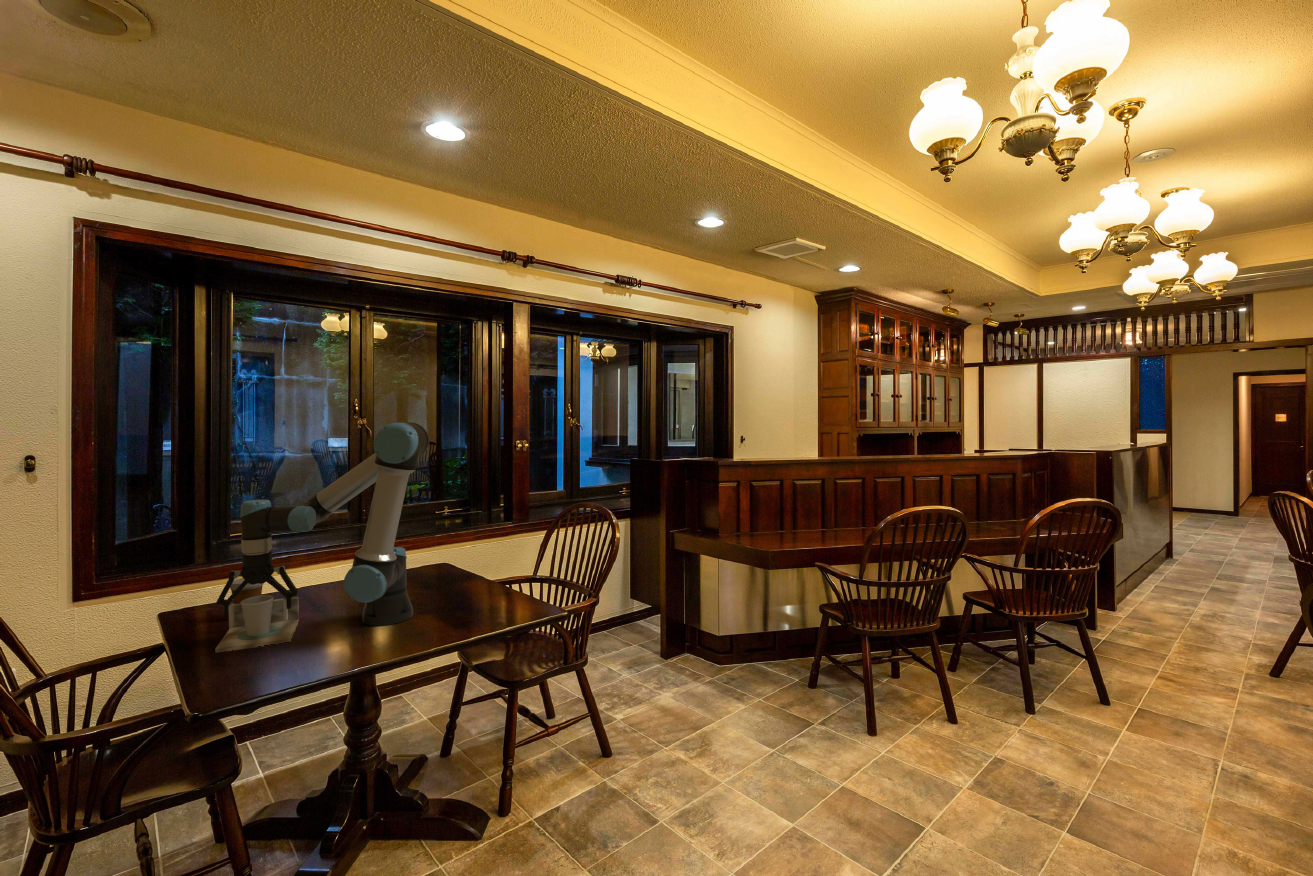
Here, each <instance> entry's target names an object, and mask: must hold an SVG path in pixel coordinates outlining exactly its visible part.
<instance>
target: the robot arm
mask: <svg viewBox="0 0 1313 876" xmlns="http://www.w3.org/2000/svg"><path fill="white" fill-rule="evenodd" d="M429 445H430V436H429V433H428V432H427V430H426V428H424V426H422V425H420V423H416V422H410V421H409V422H399V421H398V422H392V423H389V424H386V425H385V426H383V427H381V428H380V429H379V430H378V432H377V433H376V435H375V437H374V440H373V449H374V453H373V454H371V455H370V456H369V457H367V458H365V459H364V460H363V461H362V462H360V463H359V464H357V465H355V466H354V467H353V468H351V469H350V470H349V471H347V472H345V474H343V475H342V476H340V477H338V478H337V479H336V480H335V481H333V482H332V483H330V484H329V485H328V486H326V487H325V488H323V489H322V490H320V491H318V492H317V493H316V494H315V495H313V496H311V497H310V498H309V499H307V500H306V501H303V502H301V503H300V502H299V503H297V504H294V505H289V506H272V502H271V500H269V499H253V500H245V501H243V502H242V503H241V505H240V515H239V518H240V530H241V539H240V541H241V542H240V543H241V544H240V545H241V553H242V555H241V570H235V569H232V570H230V571H229V573H228V579H227V581H226V583H225V585H224V587H223V589H222V590H221V592H220V595H219V597H218V598H217V600H216V605H222V606H223V607H224V608H223V611H224V617H228V626H229V627H228V628H229V629H230V628H232V627H233V626H234V603H233V599H234V598H235V597H236V596H237V595H238V593H239V592H240V591H241V590H242V589H243V588H244V587H245V586H246V584H247V583H249V584H251V585H254V584H257V583H258V584H263V585H264V584H265V583H267V584H268V585H271V587H273V589H275V590H276V591H278V592H279V594H280V595H282V596H283V598H282V599H283V612H284V621H287V619H288V609H290V608H291V606H292V599H291V598H293V597H297V595H298V594H299V590H298V588H297V587H296V586H295V584H294V582H293V581H292V579H291V577H290V576H289V575H288V573H287V572H286V566H285V565H284V564H281V565H280V566H276V567H274V563H273V552H272V550H273V543H272V542H273V539H272V538H273V537H272V535H273V534H272V533H288V532H289V533H291V532H292V533H293V532H294V533H300V532H301V533H302V532H309V531H312V530H313V529H314V527H315V525H316V524H320V523H322V522H323V521H325V520H327V518H329V516H330V515H331V514H332V513H334V512H335V511H336V510H338V509H339V508H340V507H342V506H344V505H345V504H347V503H348V502H349V501H351V500H352V499H353V498H355V497H356V496H358V495H360V493H362V492H363V491H364V490H366V489H367V488H369V487H370V486H372V485H373V484H375V486H374V491H373V495H372V499H371V503H370V509H369V513H368V517H367V518H368V519H367V523H366V528H365V532H364V537H363V542H362V546H361V547H360V548H359V549H358V550H356V551H355V552H354V556H353V560H352V566H351V568H350V569H348V571H347V572H346V574H345V576H344V579H343V588H344V591H345V592H346V594H347V595H348V596H349V597H350V598H351V599H352V600H354V601H355V602H359V603H365V604H364V608H363V611H362V615H361V620H362V621H361V622H362V624H364V623H365V625H367V624H368V626H387V625H395V624H398V623H402V622H405V621H407V620H409V619H411V618H412V617H413V615H414V608H413V605H412V602H411V600H410V598H409V595H408V591H407V590H408V589H407V587H408V586H407V585H408V584H407V580H408V579H407V553H406V549H405V548H404V547H401V546H395V542H396V537H397V532H398V527H399V522H400V519H401V514H402V510H403V505H404V500H405V495H406V491H407V486H408V481H409V479H410V478H409V477H410V475H411V474H412V473H415V472H416V470H417V466H418V465H417V464H418V462H419V461H418V460H419V458H420V457H421V456H423V455H425V453H426V451H427V450H428V449H429ZM274 573H276V574H277V575H280V577H281V580H282V581H283V583H285V585H286V586H287V588H288V589H289V590H288V589H286V587H285V586H284V585H282V584H281V583H280V582H279V581H278V580H276V579H275V577H274V576H273V574H274ZM239 576H241V577H242V578H244V579H245V580H244V581H243V582H242V583H241V585H240V586H239V587H238V588H237V589H236V590H235V591H234V592H233V593H232V592H231V594H230V596H229V597H227V599H225V597H226V596H227V594H228V593H229V590H231V589H230V587H231V585H232V583H233V581H234V580H236V579H238V577H239Z"/></svg>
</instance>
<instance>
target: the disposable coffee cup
mask: <svg viewBox="0 0 1313 876" xmlns="http://www.w3.org/2000/svg"><path fill="white" fill-rule="evenodd" d="M244 580H245V579H244V578H243V577H242V578H236V579H234V581H233V583H232V585H231V587H230V589H229V590H230V593H231V594H232V593H233V592H234V591H235V590H236V589H237V588H238V587H239V586H240V585H241V583H242V582H243V581H244ZM263 585H264V583H263V584H258V583H257V584H254V585H251V584H249V583H247V584H246V586H245V587H244V588H243V589H242V590H241V591H240V592H239V593H238V595H237V596H236V597H235V598H234V599H233V600H232V603H234V604H240V602H241V601H242V600H244V599H247V598H250V597H255V596H262V593H263V592H262V591H263Z"/></svg>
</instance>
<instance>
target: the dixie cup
mask: <svg viewBox="0 0 1313 876" xmlns="http://www.w3.org/2000/svg"><path fill="white" fill-rule="evenodd" d="M274 598H275V597H274V596H273V595H261V596H255V597H250V598H247V599H244V600H242V601H241V602H240V604H241V605H242V610H243V616H244V621H245V627H246V632H247V635H248V636H258V635H263V634H266V633H268V632H269V631H270V623H271V614H272V604H273V600H275V599H274Z"/></svg>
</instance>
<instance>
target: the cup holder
mask: <svg viewBox="0 0 1313 876" xmlns="http://www.w3.org/2000/svg"><path fill="white" fill-rule="evenodd" d="M283 599H284V598H277V599H273V604H272V614H271V623H270V631H269V632H268V633H266V634H263V635H258V636H248V635H247V632H246V627H245V621H244V616H243V610H242V605H241V604H234V626H233V627H232V628H229V629H228V630H227V631H226V633H225V634H224V636H223V638H222V639H221V640H220V642H219V643H218V644H217V646H216V647H215V651H214V652H215V654H218V653H225V651H226V652H232V650H233V651H239V650H247V649H254V648H259V647H258V646H261V647H265V646H264V645H269V646H271V645H270V644H276V645H278V644H277V643H283V642H290V643H291V642H292V640H293V638H292V637H294V635H293V634H295V633H296V630H297V628H298V625H299V623H300V613H299V596H293V597H292V598H291V599H292V606H291V608H290V609H288V619H287V621H284V612H283ZM298 622H299V623H298ZM296 627H297V628H296ZM294 632H295V633H294ZM291 639H292V640H291ZM283 644H284V643H283Z"/></svg>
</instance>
